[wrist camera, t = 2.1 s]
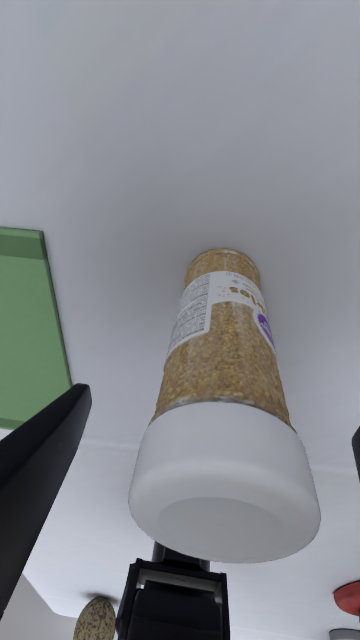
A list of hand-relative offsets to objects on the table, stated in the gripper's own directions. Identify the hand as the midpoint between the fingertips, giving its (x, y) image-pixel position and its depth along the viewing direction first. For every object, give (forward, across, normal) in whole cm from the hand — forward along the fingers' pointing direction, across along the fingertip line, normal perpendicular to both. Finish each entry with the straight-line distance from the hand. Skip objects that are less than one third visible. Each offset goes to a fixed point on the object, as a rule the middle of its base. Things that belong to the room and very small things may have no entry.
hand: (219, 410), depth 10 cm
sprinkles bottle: (+10, 0, 0) cm, 10 cm away
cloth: (+10, +16, +8) cm, 21 cm away
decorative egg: (+10, +13, +69) cm, 71 cm away
